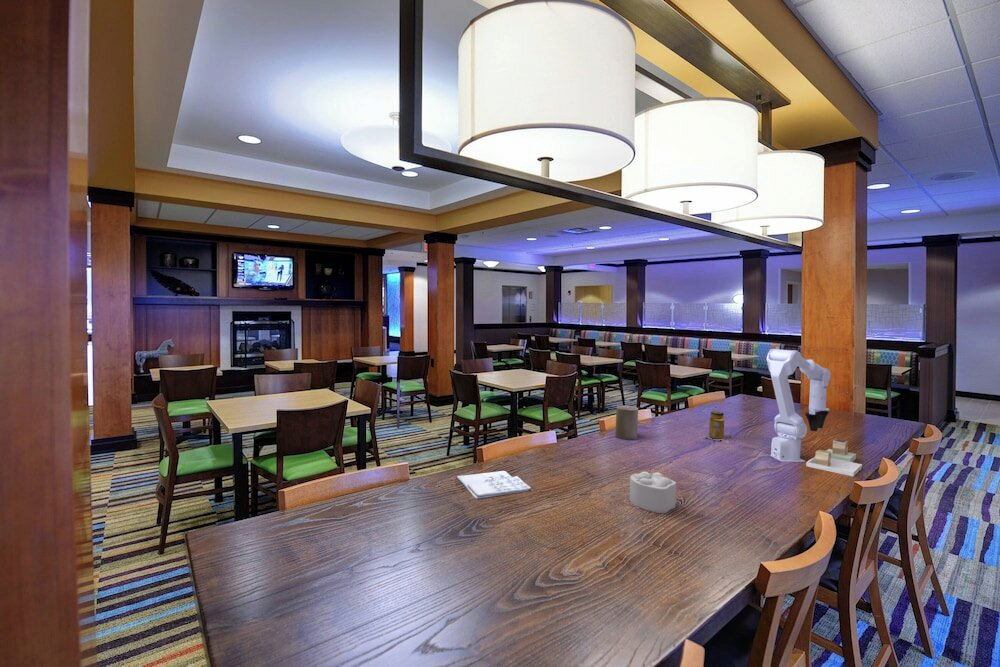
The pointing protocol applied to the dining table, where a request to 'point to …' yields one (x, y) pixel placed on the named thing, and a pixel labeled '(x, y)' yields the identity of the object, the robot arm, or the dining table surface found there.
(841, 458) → the sage stand
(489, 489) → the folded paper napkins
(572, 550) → the dining table surface
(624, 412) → the pillar candle
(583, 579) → the dining table surface
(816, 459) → the plain block
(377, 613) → the dining table surface
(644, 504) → the lumpy-topped squat cylinder
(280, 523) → the dining table surface
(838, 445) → the labelled block
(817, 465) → the parts tray
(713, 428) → the condiment
